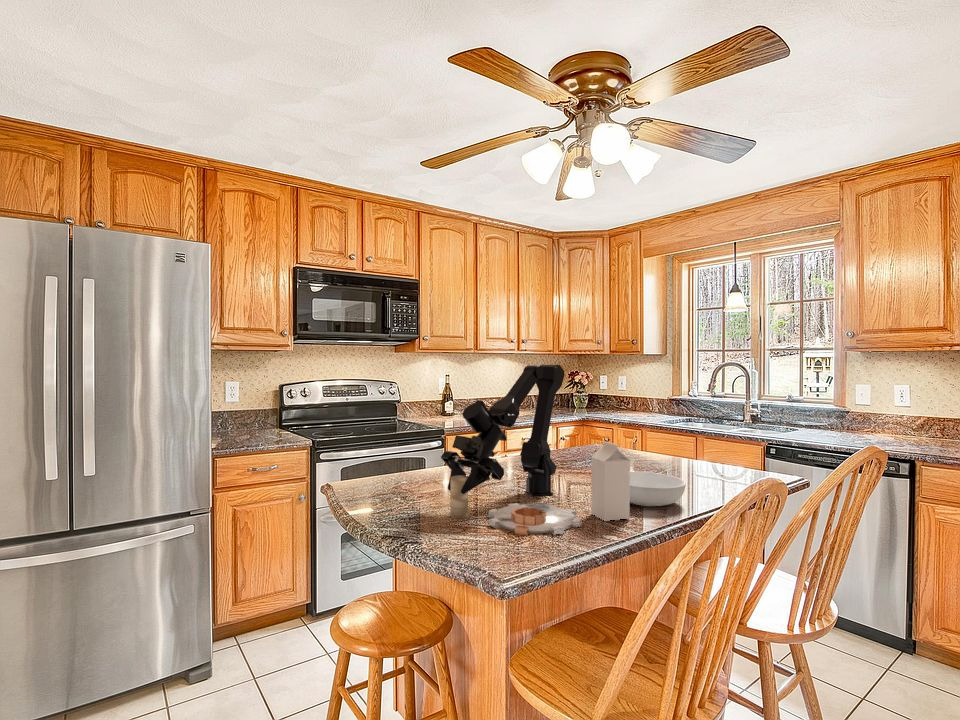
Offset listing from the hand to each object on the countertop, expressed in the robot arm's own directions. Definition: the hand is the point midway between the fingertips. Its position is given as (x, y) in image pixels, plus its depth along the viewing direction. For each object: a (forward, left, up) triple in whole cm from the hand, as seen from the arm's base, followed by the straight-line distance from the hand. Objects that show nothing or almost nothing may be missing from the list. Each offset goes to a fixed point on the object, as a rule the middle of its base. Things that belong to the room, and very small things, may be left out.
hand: (455, 491), depth 139 cm
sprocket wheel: (-18, +8, -7) cm, 21 cm away
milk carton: (-38, +10, -7) cm, 40 cm away
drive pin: (-1, -1, -7) cm, 7 cm away
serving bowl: (-55, 0, -7) cm, 56 cm away
